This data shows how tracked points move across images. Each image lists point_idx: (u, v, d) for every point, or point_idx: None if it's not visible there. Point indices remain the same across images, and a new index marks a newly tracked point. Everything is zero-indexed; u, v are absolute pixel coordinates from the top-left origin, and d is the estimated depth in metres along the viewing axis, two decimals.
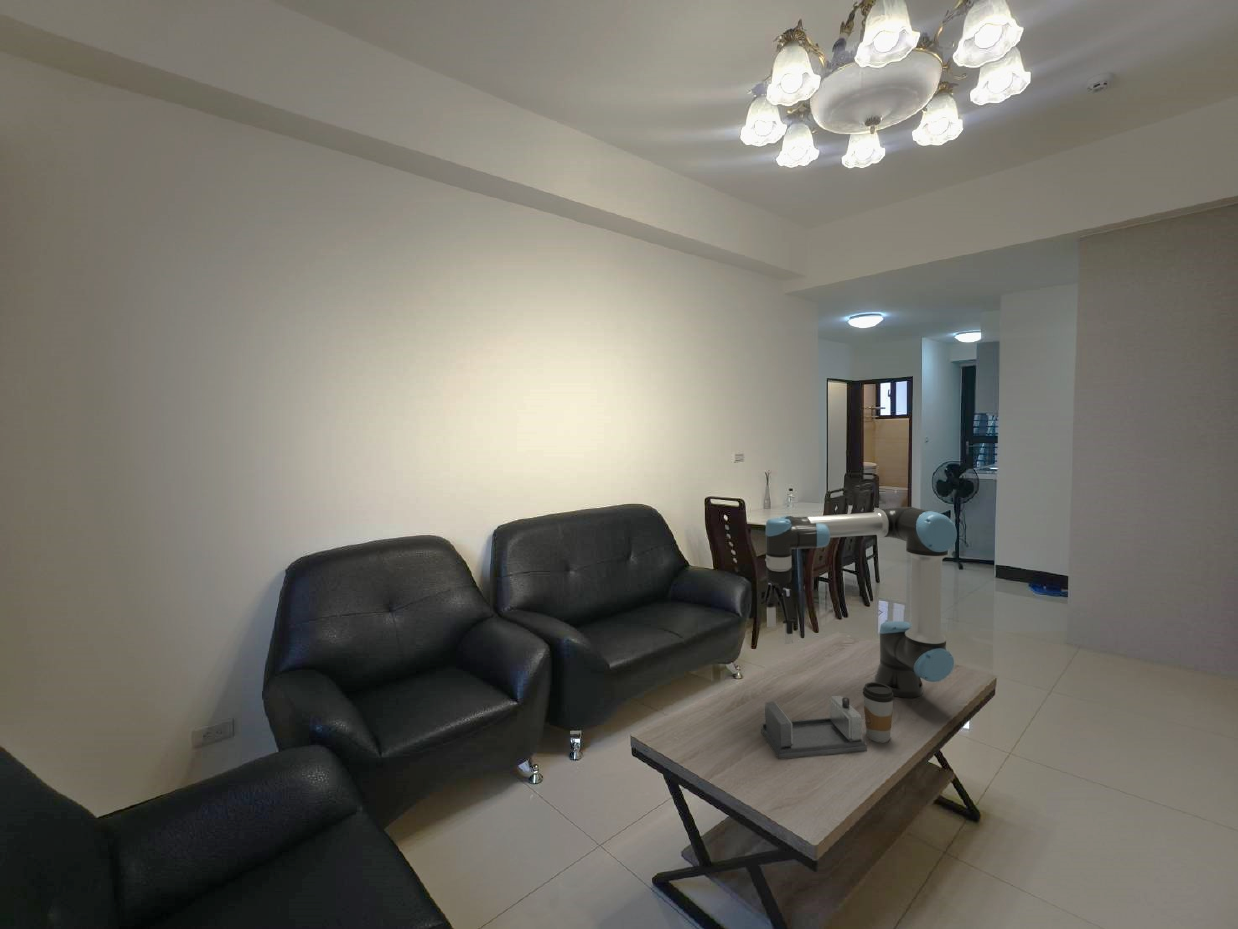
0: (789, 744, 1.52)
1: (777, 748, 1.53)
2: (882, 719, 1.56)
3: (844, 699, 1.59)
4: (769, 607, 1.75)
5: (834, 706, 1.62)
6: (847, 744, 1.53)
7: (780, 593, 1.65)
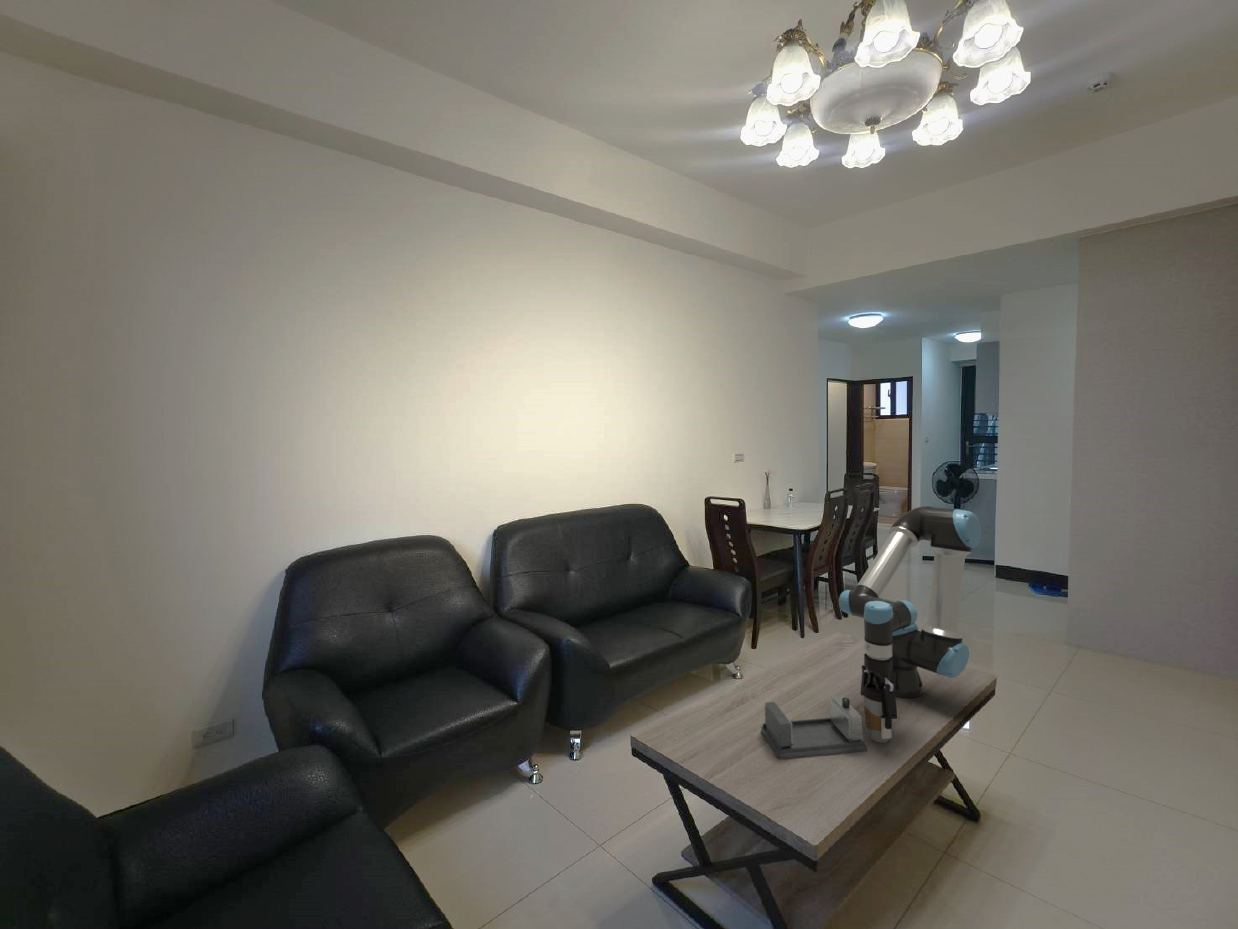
0: (789, 744, 1.52)
1: (777, 748, 1.53)
2: None
3: (844, 699, 1.59)
4: None
5: (834, 706, 1.62)
6: (847, 744, 1.53)
7: (881, 683, 1.56)
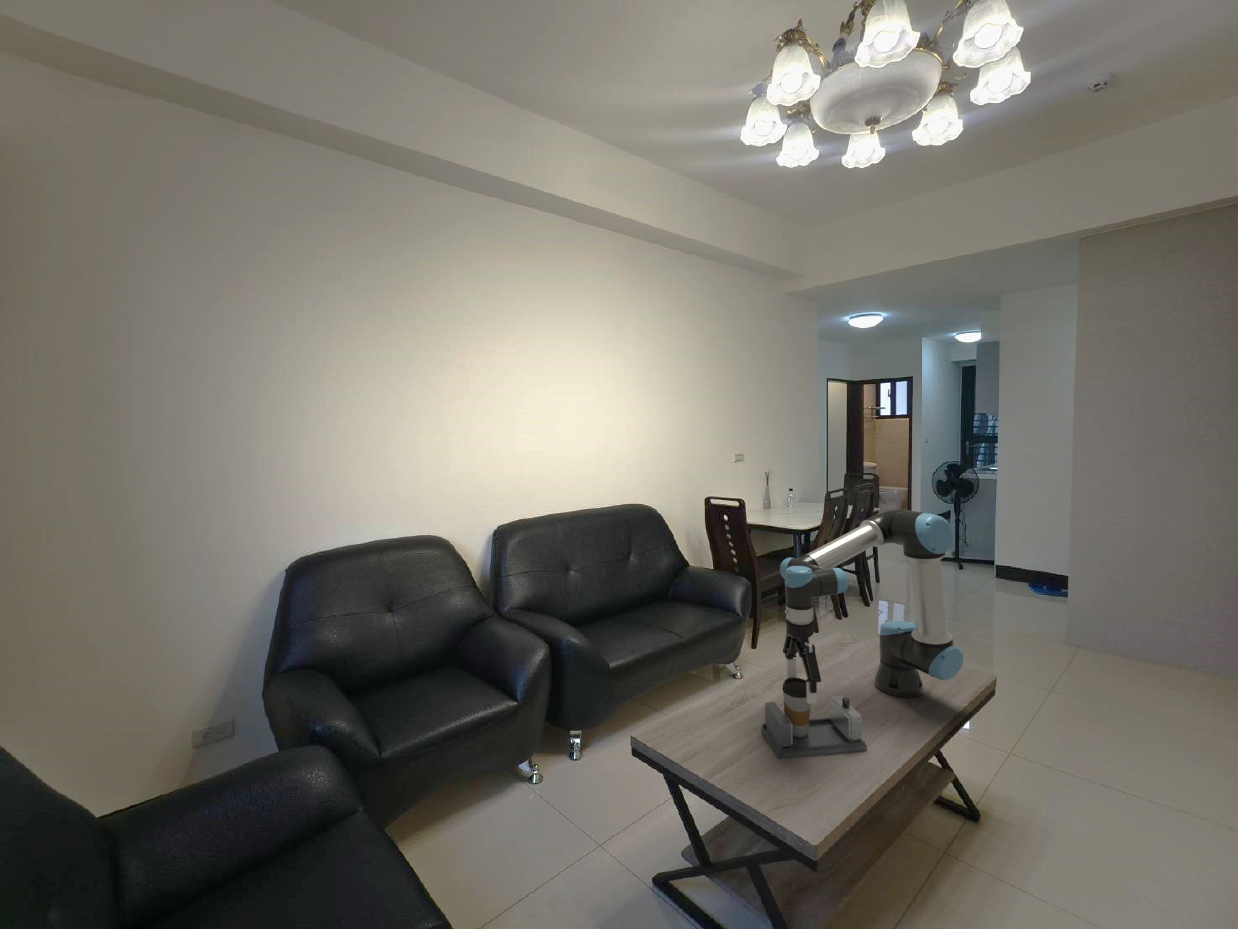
0: (789, 744, 1.52)
1: (777, 748, 1.53)
2: (799, 714, 1.57)
3: (844, 699, 1.59)
4: (789, 659, 1.64)
5: (834, 706, 1.62)
6: (847, 744, 1.53)
7: (802, 648, 1.53)
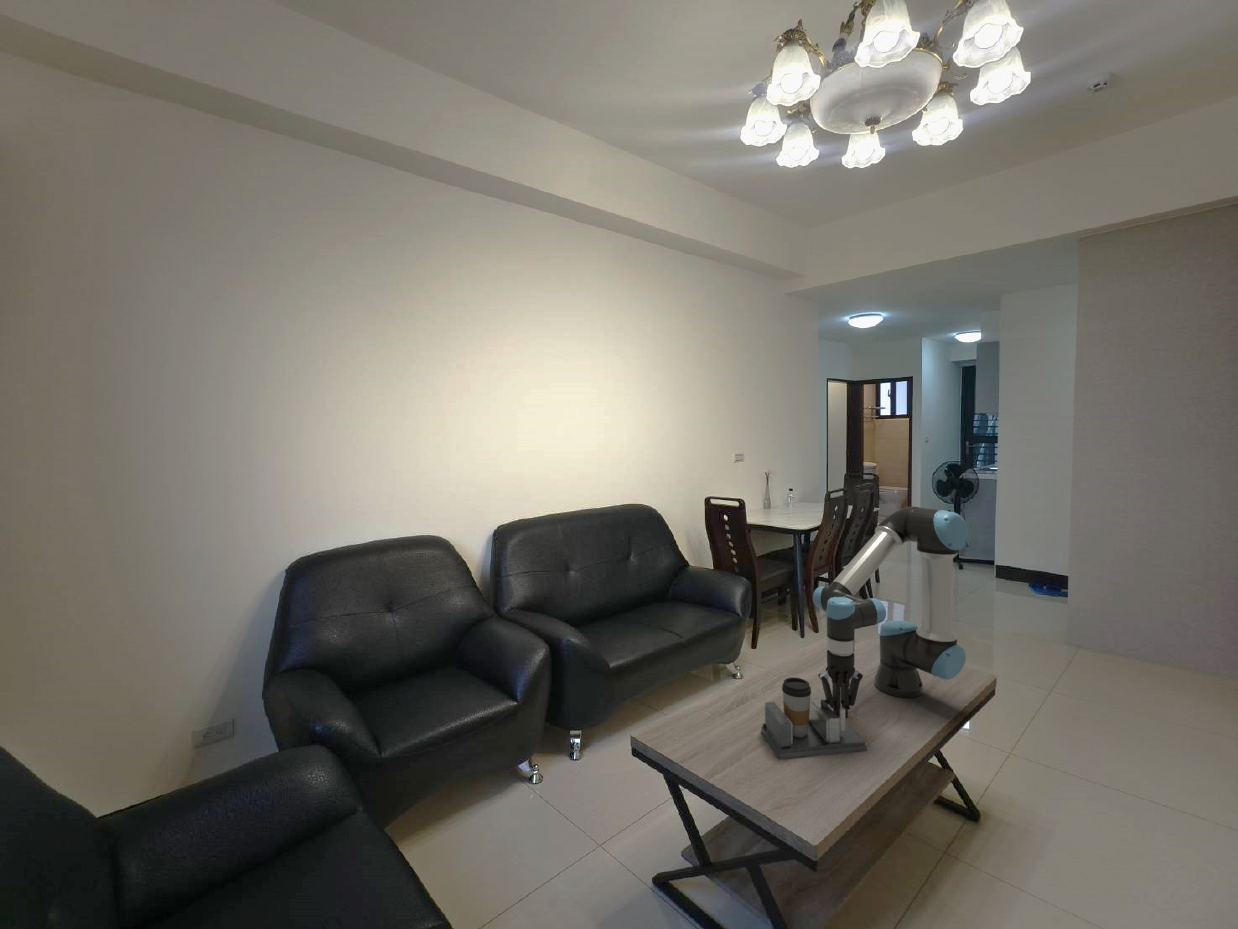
0: (789, 744, 1.52)
1: (777, 748, 1.53)
2: (798, 714, 1.57)
3: (823, 701, 1.59)
4: (840, 706, 1.60)
5: (813, 708, 1.62)
6: (847, 744, 1.53)
7: None
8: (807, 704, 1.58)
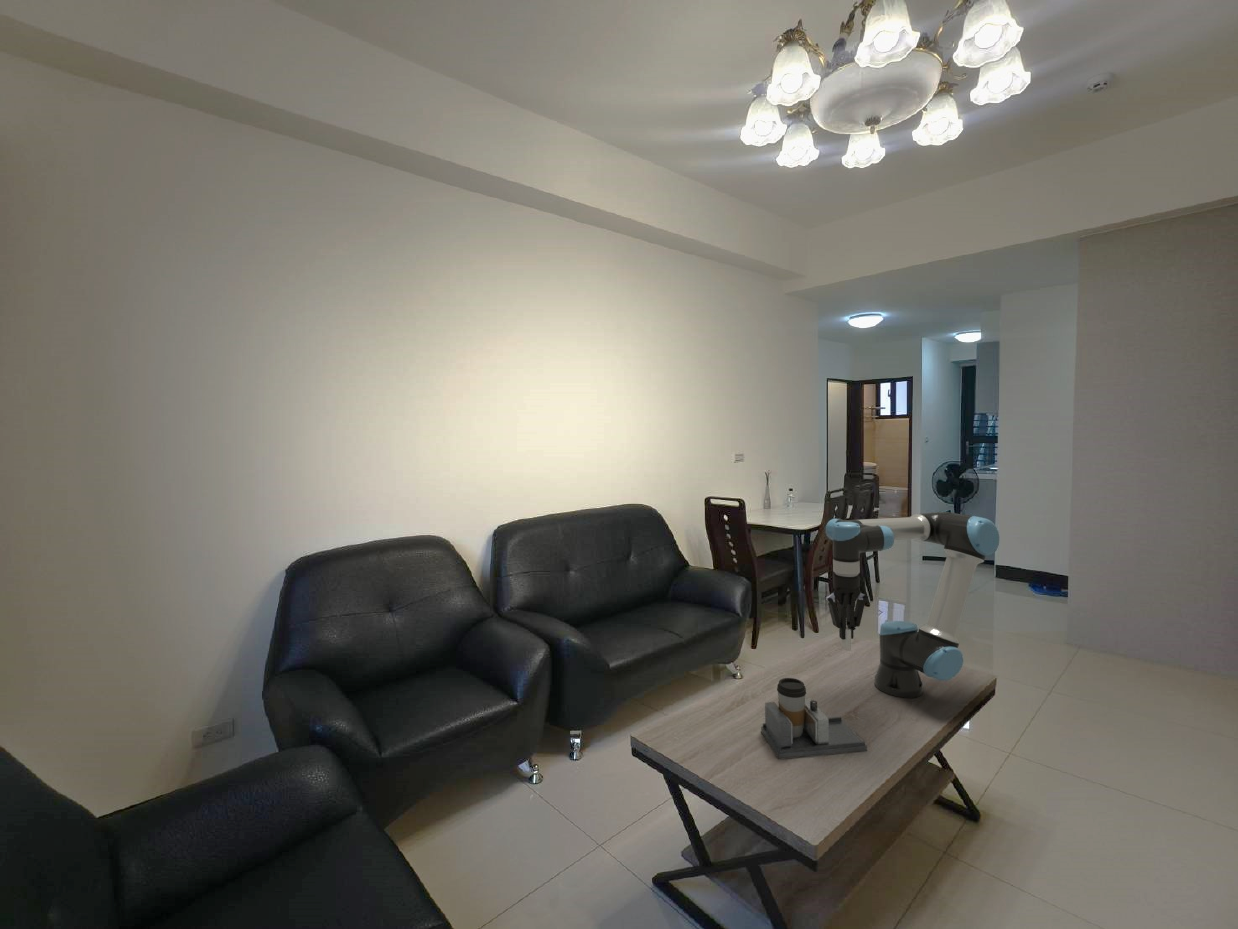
0: (789, 744, 1.52)
1: (777, 748, 1.53)
2: (793, 714, 1.57)
3: (812, 701, 1.59)
4: (846, 627, 1.65)
5: None
6: (847, 744, 1.53)
7: None
8: (802, 704, 1.58)
